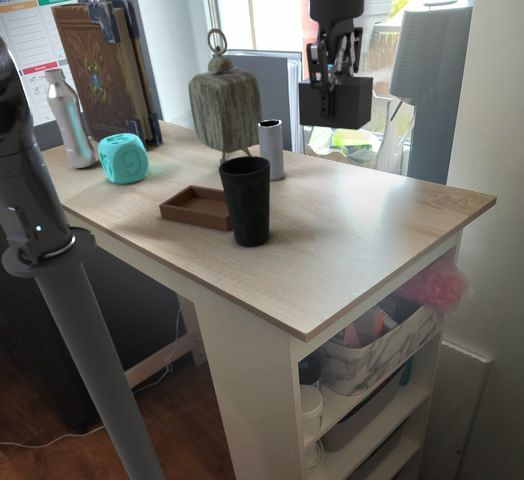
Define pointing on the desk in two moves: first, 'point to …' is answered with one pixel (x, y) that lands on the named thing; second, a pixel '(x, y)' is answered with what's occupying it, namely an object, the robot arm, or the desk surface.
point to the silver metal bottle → (69, 120)
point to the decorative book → (108, 68)
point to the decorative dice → (123, 158)
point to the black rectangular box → (338, 103)
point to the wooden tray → (198, 208)
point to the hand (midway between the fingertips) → (335, 112)
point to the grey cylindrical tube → (272, 146)
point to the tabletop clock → (225, 104)
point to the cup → (247, 198)
